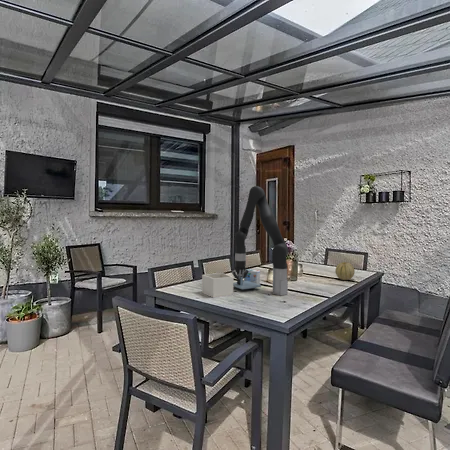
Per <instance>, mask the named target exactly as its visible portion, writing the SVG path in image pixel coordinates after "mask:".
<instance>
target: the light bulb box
mask: <svg viewBox="0 0 450 450" xmlns="http://www.w3.org/2000/svg"><path fill="white" fill-rule="evenodd" d="M246 270H248V271H249V272H248V274H247V275H246V277H245V278H243V281H250V282H253V283H256V284H259V285H261V270H259V269H250V268H249V269H248V268H246Z"/></svg>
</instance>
